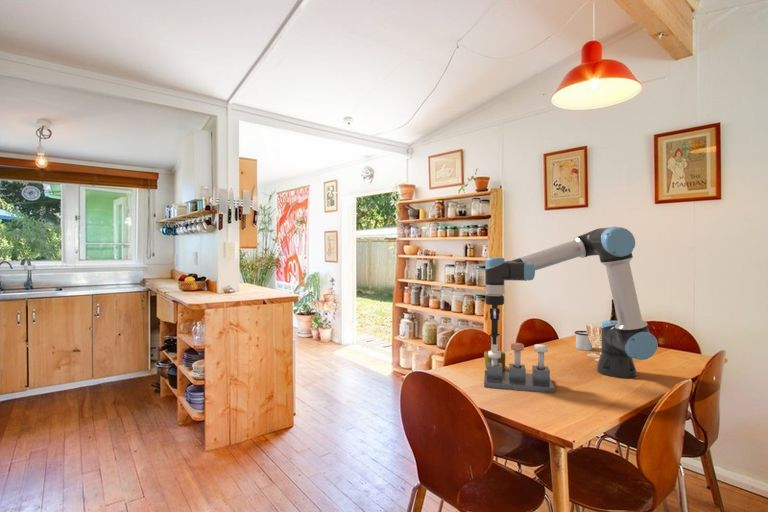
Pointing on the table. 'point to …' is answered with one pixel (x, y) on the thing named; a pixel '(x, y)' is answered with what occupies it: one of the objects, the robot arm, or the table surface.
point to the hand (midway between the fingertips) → (494, 351)
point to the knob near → (540, 354)
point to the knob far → (494, 357)
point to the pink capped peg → (517, 353)
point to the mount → (518, 378)
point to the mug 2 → (583, 341)
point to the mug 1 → (500, 360)
